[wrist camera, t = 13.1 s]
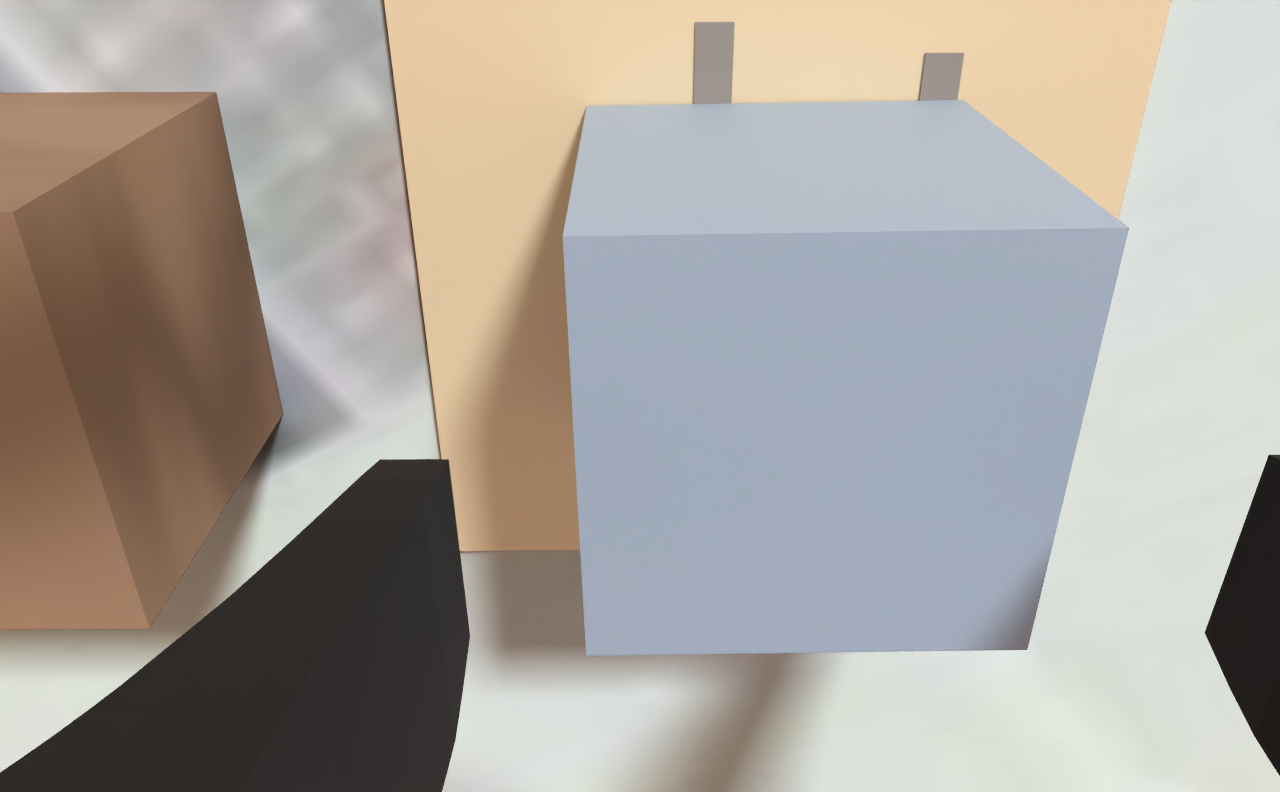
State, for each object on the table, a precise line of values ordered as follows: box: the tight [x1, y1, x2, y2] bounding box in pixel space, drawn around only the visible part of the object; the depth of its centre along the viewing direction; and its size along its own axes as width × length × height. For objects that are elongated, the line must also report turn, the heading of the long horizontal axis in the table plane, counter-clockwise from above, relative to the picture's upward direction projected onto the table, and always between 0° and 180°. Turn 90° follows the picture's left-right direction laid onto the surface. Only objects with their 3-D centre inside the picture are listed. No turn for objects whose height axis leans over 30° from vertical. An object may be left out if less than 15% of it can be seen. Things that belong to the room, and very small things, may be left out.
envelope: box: [384, 0, 1172, 551], centre depth 13 cm, size 14×10×1 cm
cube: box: [563, 100, 1129, 656], centre depth 12 cm, size 5×5×5 cm
